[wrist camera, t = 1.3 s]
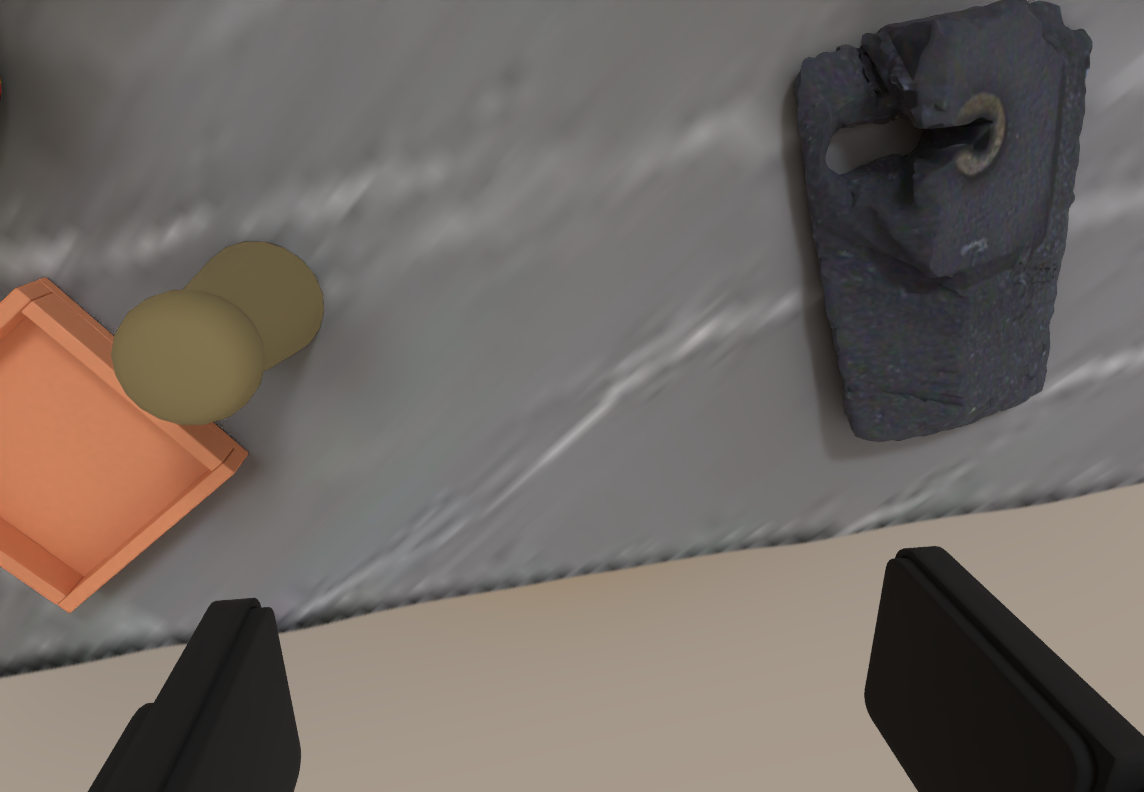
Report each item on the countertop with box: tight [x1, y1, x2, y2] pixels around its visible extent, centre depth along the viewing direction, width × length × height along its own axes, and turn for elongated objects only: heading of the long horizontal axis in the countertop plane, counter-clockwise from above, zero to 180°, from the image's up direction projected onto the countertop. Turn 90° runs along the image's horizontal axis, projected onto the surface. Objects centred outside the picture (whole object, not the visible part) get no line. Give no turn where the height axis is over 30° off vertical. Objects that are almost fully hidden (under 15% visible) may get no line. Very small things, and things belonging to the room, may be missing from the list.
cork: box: [111, 242, 324, 425], centre depth 31 cm, size 6×6×11 cm
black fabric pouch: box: [794, 0, 1092, 442], centre depth 36 cm, size 15×22×5 cm
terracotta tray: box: [0, 277, 249, 613], centre depth 36 cm, size 13×13×2 cm
